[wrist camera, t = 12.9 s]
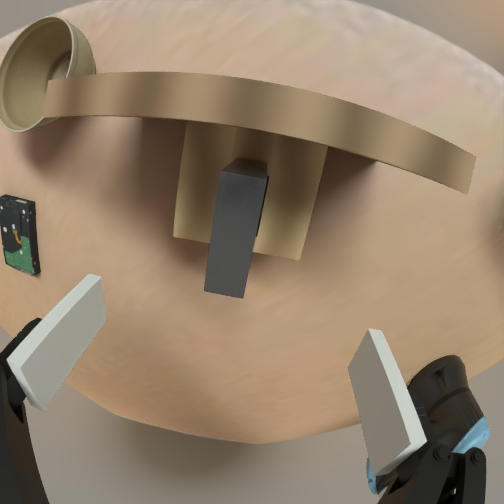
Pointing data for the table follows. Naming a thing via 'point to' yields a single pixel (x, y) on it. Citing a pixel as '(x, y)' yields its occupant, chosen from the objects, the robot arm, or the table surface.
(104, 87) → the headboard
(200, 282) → the table surface
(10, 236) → the disk drive
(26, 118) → the planter bowl
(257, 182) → the grey slab
